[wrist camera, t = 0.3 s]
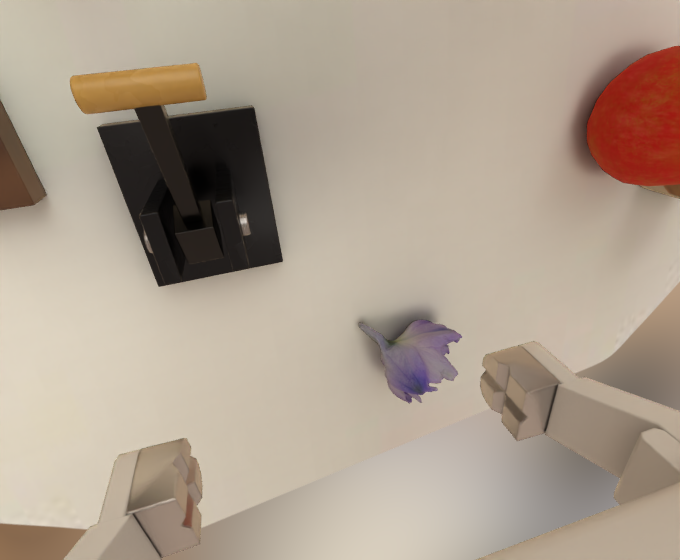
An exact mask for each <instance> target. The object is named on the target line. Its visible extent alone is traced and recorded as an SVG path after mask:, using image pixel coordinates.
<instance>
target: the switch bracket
mask: <svg viewBox="0 0 680 560" xmlns="http://www.w3.org/2000/svg"><path fill="white" fill-rule="evenodd" d="M168 117H169V120H170V123H171V125H172V128H173V131H174V134H175V136H176V139H177V142H178V145H179V148H180V150H181V153H182V156H183V159H184V161H185V164H186V167H187V170H188V172H189V175H190V178H191V181H192V183H193V186H194V189H195V192H196V195H197V197H198V200H199V201H204V200H210V201H211V203H212V206H213V209H214V213H215V216H216V219H217V222H218V225H219V228H220V231H221V238H222V245H223V252H224V258H219V259H214V260H209V261H203V262H198V263H193V264H188V262H187V260H186V258H185V256H184V253H183V251H182V249H181V247H180V245H179V243H178V241H177V239H176V237H175V235H174V218H173V206H174V205H176V204H175V202H174V200H173V197H172V195H171V193H170V190H169V188H168V186H167V184H166V181H165V179H164V177H163V174H162V172H161V170H160V167H159V165H158V163H157V160H156V158H155V156H154V153H153V151H152V149H151V147H150V144H149V142H148V140H147V137H146V135H145V133H144V130H143V128H142V126H141V123H140V121H139V120H133V121H125V122H117V123H109V124H102V125H100V126H98V127H97V129H98V132H99V134H100V137H101V139H102V142H103V144H104V147H105V150H106V152H107V155H108V157H109V160H110V163H111V165H112V168H113V170H114V173H115V175H116V178H117V181H118V183H119V186H120V188H121V191H122V194H123V196H124V199H125V201H126V204H127V206H128V209H129V212H130V214H131V217H132V219H133V222H134V225H135V227H136V230H137V232H138V235H139V237H140V240H141V243H142V245H143V248H144V250H145V253H146V256H147V258H148V261H149V263H150V266H151V268H152V271H153V274H154V276H155V279H156V281H157V284H158V286H159V287H160V286H165V285H170V284H175V283H180V282H185V281H190V280H195V279H200V278H205V277H209V276H214V275H219V274H224V273H229V272H234V271H239V270H244V269H249V268H254V267H259V266H264V265H269V264H274V263H279V262H283V259H282V253H281V248H280V243H279V237H278V232H277V227H276V221H275V216H274V211H273V205H272V200H271V195H270V189H269V184H268V179H267V173H266V168H265V163H264V157H263V152H262V147H261V141H260V136H259V131H258V125H257V120H256V115H255V109H254V107H253V106H252V105H251V106H243V107H235V108H228V109H220V110H212V111H204V112H196V113H188V114H180V115H172V116H168Z"/></svg>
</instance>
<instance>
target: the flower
mask: <svg viewBox="0 0 680 560" xmlns="http://www.w3.org/2000/svg"><path fill="white" fill-rule="evenodd" d="M359 327H360V328H361V329H362V330H363V331H364V332H365V333H366V334H367V335H368V336H369V337H370V338H371V339H372V340H373V341H375V342H376V343H377V344H379V346H380V349H381V353H382V356H381V361H382V363H383V364H384V366H385V376H386V378H387V383H388V386H389V388H390V390H391V391H392V392H393V394H395V395H396V396H397V397H399V398H400V399H402V400H404V401H407V402H408V403H409V402H410V403H411V402H412V399H411V398H412V397H413V398H415V399H416V400H417V401H419V402H420V403H422V401H421V398H420V397H419V396H418V395H423V394H424V393H425V392H432V391H437V390H438V389H437V388H436V387H430V386H429V383H441V380H442V379H443V378H445V379H447V380H451V381H453V380H454V378H455V377H456V376H457V375H458V372H457V370H456V369H455V368H454V367H453V366H452V365H451V363H450V362H449V361H448V359H447V358H446V357H445V356H444V355H445V353H448V354H449V353H450V352H449V348H448V345H447V344H448V343H450V342H453V341H455V342H456V343H457V342H458V341H459V339H460V338H462V336H461V335H460V334H458V333H457V332H456V331H454V330H451V329H448V328H447V327H446V326H444V325H441V324H434V323H432V322H430V321H427V320H416V321H414V322H412V323H411V324H410V325H409V326H408V327H407V328H406V330H405V331H404V333H403V334H401V335H400V336H399V337H398V338H397V339H396V340H393V341H390V340H387V339H386V338H385V337H384V336H383V335H382V334H380V333H379V332H377V331H375V330H373V329H372V328H370V327H369V326H366V325H364V324H362V323H361V322H360V323H359ZM410 403H409V404H410Z"/></svg>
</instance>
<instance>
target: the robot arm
mask: <svg viewBox="0 0 680 560" xmlns="http://www.w3.org/2000/svg"><path fill="white" fill-rule="evenodd" d="M482 366H483V367H484V368H485V369H486V371H485V372H484V373H483V375H482V376H481V381H480V387H481V391H482V395H483V397H484V399H485V401H486V403H487V404H488V405H489V406H490V408H491V409H492V410H494V411H496V412H498V413H500V414H502V423H503V424H504V426H505V427H506V428H507V429H508V431H510V433H511V434H512V435H513V437H514V438H515V439H516V440H517V441H520V440H523V439H526V438H530V437H533V436H537V435H540V434H543V433H545V435H547V436H548V437H550V438H552V439H553V440H555V441H557V442H558V443H560V444H562V445H564V446H565V447H567V448H569V449H570V450H572V451H574V452H576V453H577V454H579V455H581V456H583V457H584V458H586V459H588V460H589V461H591V462H593V463H594V464H596V465H598V466H600V467H601V468H603V469H605V470H607V471H608V472H610V473H612V474H613V475H615V476H617V477H619V478H620V480H619V482H618V485H617V487H616V489H615V492H614V499H615V500H616V501H617V502H618V503H619V505H618V506H616V507H613V508H611V509H608V510H605V511H603V512H600V513H598V514H595V515H592V516H589V517H587V518H584V519H582V520H579V521H577V522H574V523H571V524H569V525H566V526H563V527H561V528H558V529H555V530H553V531H550V532H547V533H545V534H542V535H539V536H537V537H534V538H531V539H529V540H526V541H524V542H521V543H518V544H516V545H513V546H510V547H508V548H505V549H503V550H500V551H497V552H495V553H492V554H489V555H487V556H484V557H481V558H479V559H476V560H680V411H678V410H675V409H672V408H670V407H667V406H664V405H661V404H658V403H656V402H653V401H650V400H647V399H644V398H642V397H639V396H636V395H633V394H631V393H628V392H625V391H622V390H619V389H617V388H613V387H611V386H608V385H605V384H603V383H600V382H597V381H594V380H591V379H589V378H586V377H583V378H579V377H578V376H577V375H575V374H574V373H573V372H572V371H571V370H570V369H568V368H567V367H566V366H565V365H564V364H563V363H561V362H560V361H559V360H558V359H557V358H556V357H555V356H553V355H552V354H551V353H550V352H549V351H548V350H546V349H545V348H544V347H543V346H542V345H541V344H539V343H538V342H535V341H532V342H529V343H525V344H521V345H518V346H514V347H510V348H507V349H503V350H500V351H497V352H493V353H490V354H486V355H485V357H484V358H483V363H482ZM190 454H191V446H190V444H189V442H188V440H187V438H182V439H178V440H174V441H170V442H166V443H162V444H158V445H154V446H150V447H146V448H142V449H140V450H136V451H132V452H128V453H124V454H120V455H119V456H118V457H117V459H116V460H115V462H114V466H113V469H112V473H111V477H110V480H109V484H108V488H107V491H106V495H105V499H104V503H103V506H102V510H101V514H100V517H99V521H98V524H96V525H93V526H90V528H89V529H88V530H87V531H86V532H85V534H84V535H83V536H82V537H81V538H80V540H79V541H78V542H77V543H76V545H75V546H74V547H73V548H72V549H71V551H70V552H69V553H68V554H67V555H66V557H65V558H64V559H63V560H162V559H161V558H163V557H166V556H169V555H172V554H174V553H177V552H180V551H183V550H185V549H188V548H191V547H194V546H197V545H199V544H200V535H201V514H200V512H199V510H198V508H197V505H198V503H199V502H200V500H201V499H202V477H201V471H200V467H199V464H198V462H197V459H196V458H194V457H192V456H190Z"/></svg>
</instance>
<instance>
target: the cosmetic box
mask: <svg viewBox="0 0 680 560" xmlns="http://www.w3.org/2000/svg"><path fill="white" fill-rule="evenodd" d="M640 186H641V187H642V188H645V189H649V190H652V191H655V192H659V193H662V194H665V195H669V196H672V197H675V198H678V199H680V184H679V185H665V186H642V185H640Z"/></svg>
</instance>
